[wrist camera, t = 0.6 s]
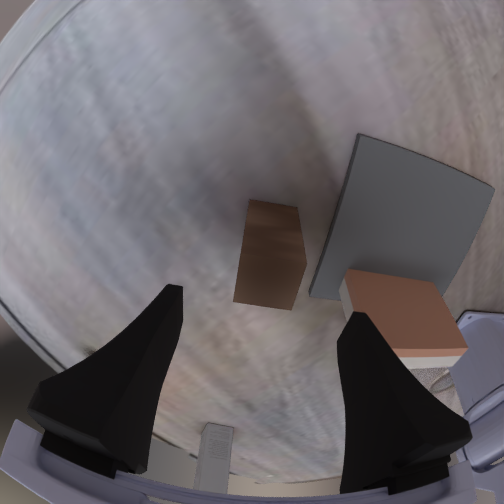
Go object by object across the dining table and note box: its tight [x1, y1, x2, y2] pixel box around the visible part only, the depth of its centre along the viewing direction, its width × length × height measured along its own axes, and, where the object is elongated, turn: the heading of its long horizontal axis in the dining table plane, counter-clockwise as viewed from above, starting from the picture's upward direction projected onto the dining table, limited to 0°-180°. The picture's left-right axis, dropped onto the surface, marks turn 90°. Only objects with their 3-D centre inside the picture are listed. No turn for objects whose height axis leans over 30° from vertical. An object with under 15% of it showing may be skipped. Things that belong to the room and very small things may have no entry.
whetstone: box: [339, 269, 468, 369], centre depth 17 cm, size 8×2×7 cm, turn 81°
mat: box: [309, 134, 495, 301], centre depth 18 cm, size 12×12×1 cm
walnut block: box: [233, 199, 307, 310], centre depth 16 cm, size 3×3×6 cm
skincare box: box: [193, 423, 233, 494], centre depth 34 cm, size 6×4×12 cm
